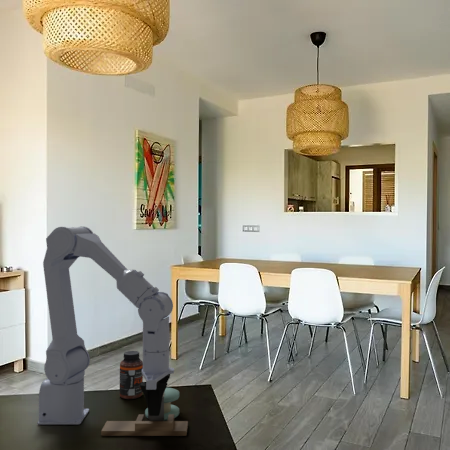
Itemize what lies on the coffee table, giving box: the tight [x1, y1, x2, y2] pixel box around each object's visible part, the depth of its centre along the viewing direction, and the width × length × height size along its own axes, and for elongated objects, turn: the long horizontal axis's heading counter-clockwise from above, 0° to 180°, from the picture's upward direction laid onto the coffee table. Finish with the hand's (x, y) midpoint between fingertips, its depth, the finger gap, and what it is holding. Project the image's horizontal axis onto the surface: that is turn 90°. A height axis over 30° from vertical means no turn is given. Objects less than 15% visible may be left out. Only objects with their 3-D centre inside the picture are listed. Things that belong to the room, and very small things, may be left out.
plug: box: [147, 392, 165, 421], centre depth 103 cm, size 4×4×6 cm
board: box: [100, 413, 189, 437], centre depth 102 cm, size 18×5×2 cm, turn 91°
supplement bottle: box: [119, 350, 144, 400], centre depth 122 cm, size 6×6×11 cm
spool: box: [144, 387, 180, 421], centre depth 111 cm, size 8×8×5 cm
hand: (155, 411), depth 103 cm, fingers closed on plug, 4 cm apart
